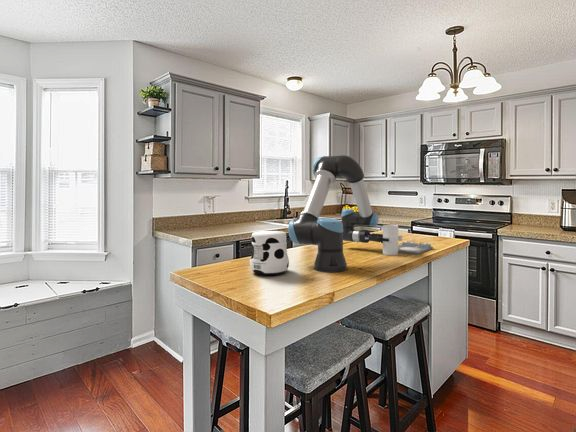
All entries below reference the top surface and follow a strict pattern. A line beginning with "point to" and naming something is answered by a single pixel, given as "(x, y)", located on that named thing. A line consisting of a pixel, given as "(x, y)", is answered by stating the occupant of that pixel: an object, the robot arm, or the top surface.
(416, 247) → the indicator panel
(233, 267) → the top surface
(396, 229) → the cup
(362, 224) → the robot arm
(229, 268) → the top surface
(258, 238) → the milk container
